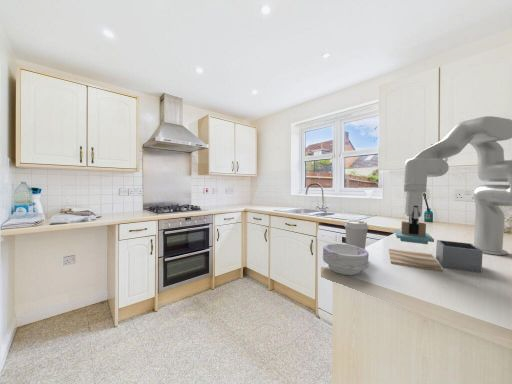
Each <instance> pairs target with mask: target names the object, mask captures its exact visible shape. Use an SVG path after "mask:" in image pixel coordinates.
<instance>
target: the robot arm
mask: <svg viewBox="0 0 512 384" xmlns="http://www.w3.org/2000/svg"><path fill="white" fill-rule="evenodd" d="M511 139H512V119H510V118H505V117H499V116H492V115H491V116H480V117H477V118H473V119H469V120H463V121H461V122H459V123H457V124H456V125H455V126H454V127H453V128H452V129H451V130H450V131H448V133H447V134H446V135H445V136H444V137H443V138H442V139H441V140H440V141H438V142H436V143H434V144H432V145H431V146H429V147H427V148H425V149H423V150H422V151H420V152H419V153H417V154H416V155H415V156H414V157H413V158H409V159H406V161H405V163H404V164H405V166H404V186H403V192H404V193H406V196H405V206H404V207H405V208H404V209H405V210H404V215H405V216H407V217H408V222H410V224H409V233H410V234H419V223H420V217H421V218H422V217H423V215H422V214H423V205H424V204H423V202H424V201H423V199H424V198H423V197H424V194H425V193H427V184H428V178H437V177H442V176H445V175H446V174H447V173H448V171H449V168H450V167H449V163H448V162H447V160H445V159H448V158H451V157H454V156H456V155H458V154H460V152H462V151H463V150H464V149H465V148H466V146H467V145H468V144H469V145H471V146H472V148H473V149H475V151H476V155H477V176H478V179H479V180H480V181H482V182H491V183H499V182H500V183H501V182H503V183H507V182H508V184H482V185H479V186H477V187H475V189H474V190H473V200H474V205H475V219H474V236H473V245H475V246H476V247H478V248H479V249H481V250H482V251H483V254H488V255H497V256H506V255H508V251H507V250H505V249H503V248H504V247H503V246H504V231H505V230H504V228H505V213H504V212H503V209H502V208H501V207H500V206H502V207H512V159H508V160H506V159H505V154H504V153H505V151H504V148H503V146H502V145H501V144H500V143H499V142H501V141H507V140H511Z"/></svg>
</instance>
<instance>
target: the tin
mask: <svg viewBox="0 0 512 384" xmlns="http://www.w3.org/2000/svg"><path fill="white" fill-rule="evenodd" d="M483 254H484V253H483V251H482V250H481V249H479V248H478V247H476V246H475V245H474V243H468V242H461V241H459V242H458V241H451V240H441V239H436V249H435V260H436V261H437V262H438V264H439V265H440V267H441V268H447V269H453V270H458V271H459V270H460V271H467V272H473V273H478V274H479V273H480V274H482V269H483Z"/></svg>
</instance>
